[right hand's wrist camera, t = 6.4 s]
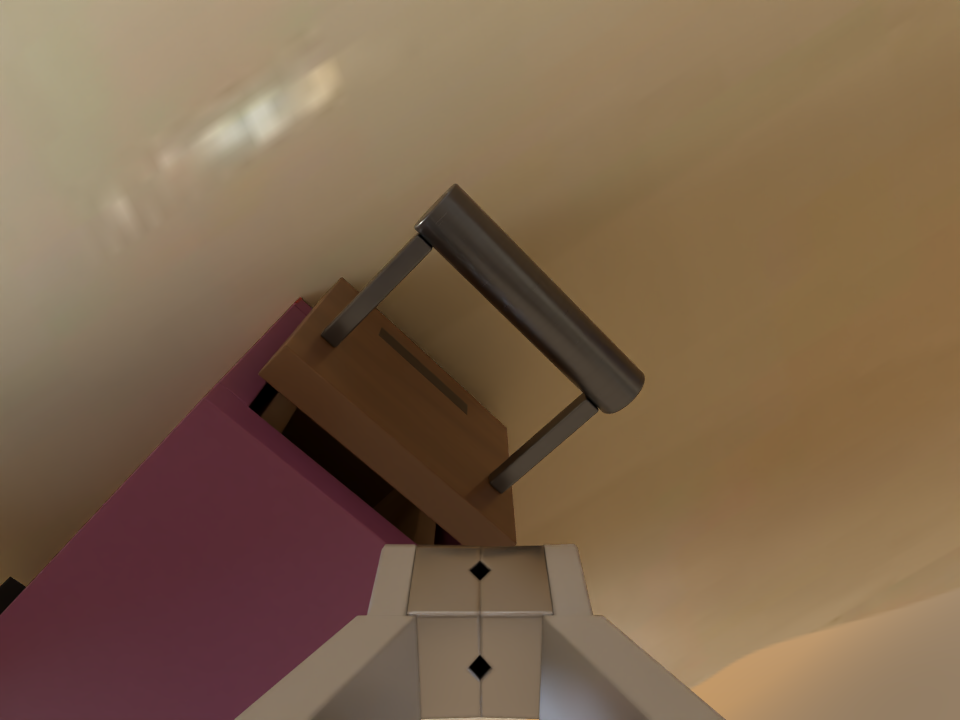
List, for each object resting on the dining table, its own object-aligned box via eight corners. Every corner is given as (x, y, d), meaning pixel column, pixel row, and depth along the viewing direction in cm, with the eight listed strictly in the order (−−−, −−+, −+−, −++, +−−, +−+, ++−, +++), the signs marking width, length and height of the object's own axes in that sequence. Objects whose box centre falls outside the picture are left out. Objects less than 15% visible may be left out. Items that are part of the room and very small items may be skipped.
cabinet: (300, 296, 26) (203, 396, 17) (481, 457, 29) (482, 620, 20) (25, 590, 31) (-165, 791, 22) (200, 706, 34) (95, 930, 25)
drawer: (453, 159, 24) (441, 180, 16) (618, 329, 26) (673, 415, 18) (65, 568, 30) (-72, 719, 22) (225, 678, 32) (149, 847, 24)
